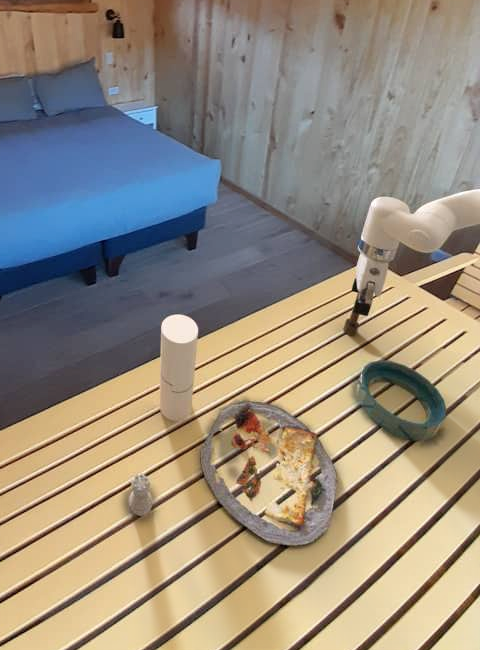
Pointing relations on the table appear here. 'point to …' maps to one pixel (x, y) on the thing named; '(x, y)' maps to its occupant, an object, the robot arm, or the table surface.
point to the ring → (412, 384)
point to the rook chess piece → (140, 495)
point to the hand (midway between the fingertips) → (359, 302)
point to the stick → (353, 320)
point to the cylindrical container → (177, 366)
